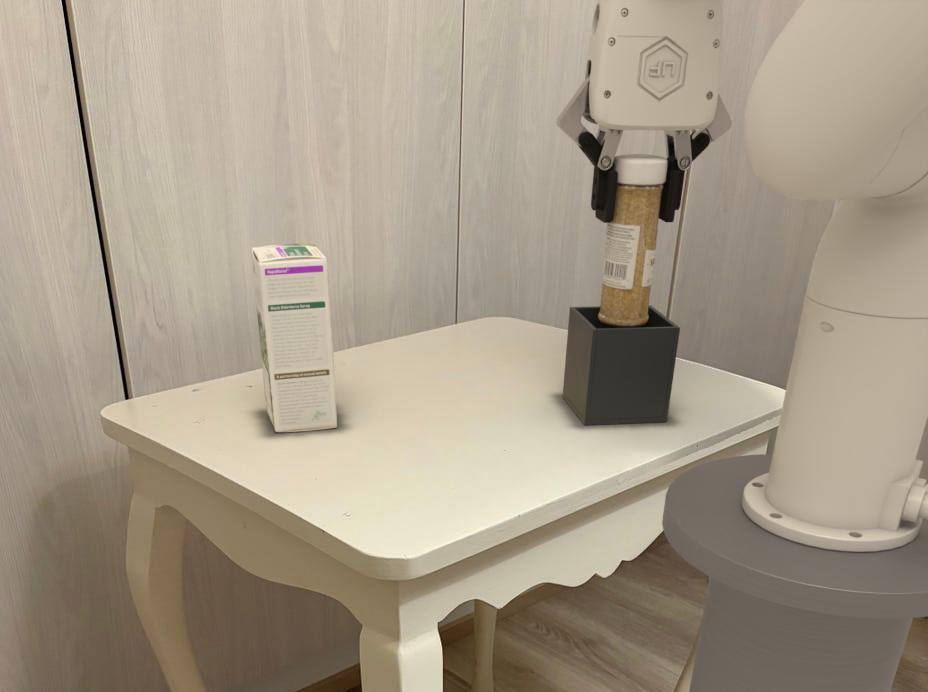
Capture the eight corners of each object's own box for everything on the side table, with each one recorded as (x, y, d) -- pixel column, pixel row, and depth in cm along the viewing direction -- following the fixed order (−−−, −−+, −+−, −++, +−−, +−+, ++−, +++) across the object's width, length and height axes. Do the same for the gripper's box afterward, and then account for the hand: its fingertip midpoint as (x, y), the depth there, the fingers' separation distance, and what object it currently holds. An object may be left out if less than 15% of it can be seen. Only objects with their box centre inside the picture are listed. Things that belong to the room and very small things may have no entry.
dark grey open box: (639, 394, 97) (651, 305, 92) (667, 422, 90) (680, 327, 86) (562, 397, 96) (569, 306, 91) (584, 425, 89) (593, 329, 85)
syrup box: (339, 428, 87) (331, 255, 80) (272, 434, 86) (258, 258, 78) (327, 407, 92) (319, 241, 84) (263, 412, 91) (249, 244, 83)
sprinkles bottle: (658, 325, 88) (680, 158, 81) (615, 331, 86) (633, 160, 79) (628, 313, 92) (646, 151, 84) (586, 318, 90) (601, 153, 83)
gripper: (565, -46, 70) (546, 229, 80) (790, -39, 73) (745, 227, 82) (541, -42, 77) (526, 212, 86) (749, -36, 79) (712, 211, 89)
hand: (634, 217), depth 84 cm, fingers closed on sprinkles bottle, 4 cm apart
